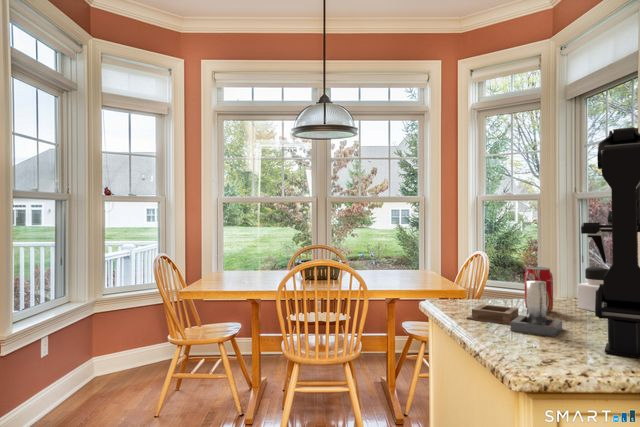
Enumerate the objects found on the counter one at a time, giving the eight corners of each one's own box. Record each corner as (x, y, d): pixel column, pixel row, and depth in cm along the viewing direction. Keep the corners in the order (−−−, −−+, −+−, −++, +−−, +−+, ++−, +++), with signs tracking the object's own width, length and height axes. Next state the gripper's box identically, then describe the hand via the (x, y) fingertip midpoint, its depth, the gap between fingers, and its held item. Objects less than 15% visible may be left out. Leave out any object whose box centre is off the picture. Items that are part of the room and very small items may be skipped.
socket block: (555, 337, 91) (555, 327, 91) (510, 330, 97) (510, 321, 97) (562, 328, 99) (562, 320, 99) (520, 323, 104) (520, 315, 104)
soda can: (519, 309, 121) (518, 267, 121) (536, 307, 124) (536, 266, 124) (541, 314, 114) (540, 269, 115) (559, 312, 117) (558, 268, 118)
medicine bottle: (599, 313, 116) (599, 268, 117) (577, 308, 123) (576, 266, 124) (620, 311, 118) (619, 268, 119) (597, 306, 125) (596, 265, 125)
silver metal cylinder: (544, 333, 95) (544, 283, 95) (525, 330, 97) (524, 281, 98) (548, 329, 98) (547, 281, 98) (529, 326, 101) (528, 280, 101)
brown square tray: (512, 325, 102) (512, 315, 102) (466, 318, 109) (466, 309, 109) (523, 317, 111) (523, 307, 111) (480, 311, 118) (480, 303, 118)
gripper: (675, 200, 104) (677, 264, 103) (585, 202, 115) (586, 260, 115) (677, 197, 95) (679, 267, 95) (580, 200, 107) (581, 263, 106)
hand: (628, 264), depth 103 cm, fingers open, 9 cm apart
